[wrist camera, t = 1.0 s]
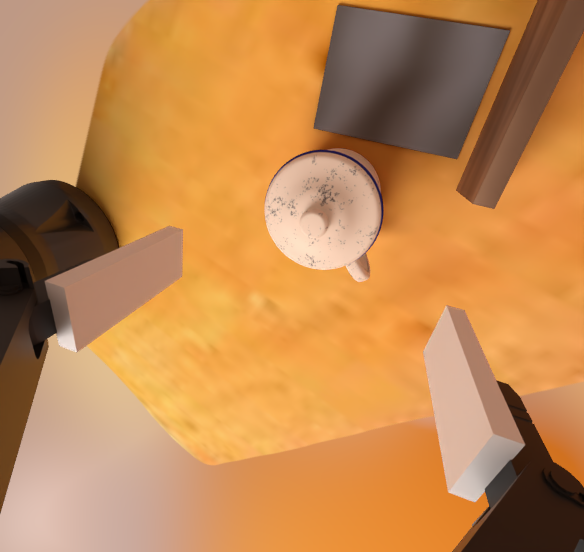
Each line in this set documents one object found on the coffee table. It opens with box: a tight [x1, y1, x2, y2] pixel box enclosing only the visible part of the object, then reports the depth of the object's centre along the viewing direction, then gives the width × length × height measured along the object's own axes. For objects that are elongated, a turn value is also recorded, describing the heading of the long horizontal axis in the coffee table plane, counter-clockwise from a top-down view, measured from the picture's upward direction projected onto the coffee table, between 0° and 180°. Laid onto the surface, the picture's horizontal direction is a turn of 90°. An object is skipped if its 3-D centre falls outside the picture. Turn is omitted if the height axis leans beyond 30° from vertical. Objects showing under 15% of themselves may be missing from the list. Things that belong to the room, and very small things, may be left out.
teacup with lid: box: [265, 148, 383, 282], centre depth 26 cm, size 12×9×12 cm
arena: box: [314, 0, 584, 209], centre depth 22 cm, size 16×18×6 cm
